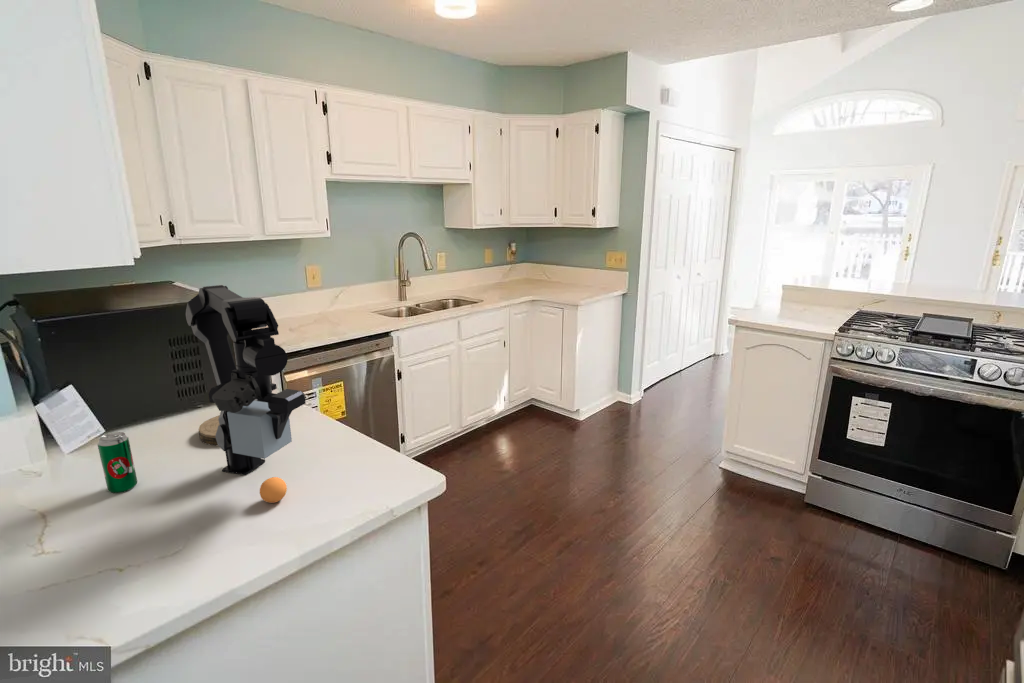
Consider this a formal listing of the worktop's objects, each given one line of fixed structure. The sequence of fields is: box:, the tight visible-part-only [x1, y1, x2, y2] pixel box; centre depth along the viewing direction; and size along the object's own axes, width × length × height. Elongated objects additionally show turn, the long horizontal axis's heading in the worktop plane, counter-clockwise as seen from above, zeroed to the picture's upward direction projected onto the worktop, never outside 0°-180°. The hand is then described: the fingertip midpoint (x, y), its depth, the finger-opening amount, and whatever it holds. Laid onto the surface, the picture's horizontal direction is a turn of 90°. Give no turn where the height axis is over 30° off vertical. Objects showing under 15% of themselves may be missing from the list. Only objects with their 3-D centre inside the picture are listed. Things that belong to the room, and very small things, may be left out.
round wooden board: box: [198, 415, 220, 446], centre depth 132 cm, size 16×16×3 cm
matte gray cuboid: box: [227, 401, 293, 460], centre depth 101 cm, size 8×8×9 cm
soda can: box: [97, 431, 138, 494], centre depth 104 cm, size 5×5×12 cm
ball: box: [259, 476, 288, 504], centre depth 101 cm, size 5×5×5 cm
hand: (261, 435), depth 101 cm, fingers closed on matte gray cuboid, 8 cm apart
